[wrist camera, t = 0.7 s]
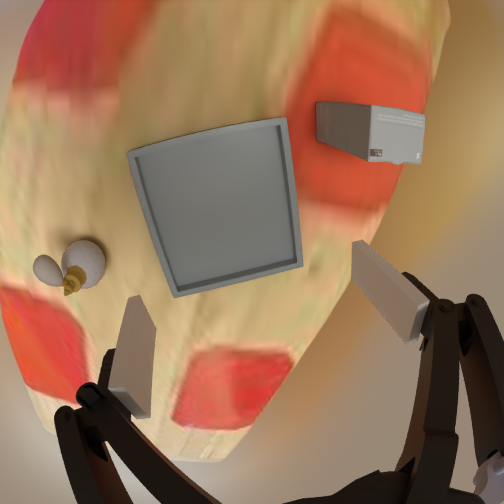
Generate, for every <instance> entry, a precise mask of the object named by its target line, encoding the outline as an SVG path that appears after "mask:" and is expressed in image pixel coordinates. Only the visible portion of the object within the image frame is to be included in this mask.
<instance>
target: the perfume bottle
mask: <svg viewBox="0 0 504 504" xmlns="http://www.w3.org/2000/svg"><path fill="white" fill-rule="evenodd" d="M33 271H34V273H35V275H36V277H37V278H38V279H39V280H40V281H42V282H43V283H45V284H47V285H50V286H56V287H57V286H64V293H65V294H64V295H65V296H67V295H69V294H71V293H73V292H77V291H79V290H80V288H81V289H87V288H91V287H93V286H95V285H96V284H97V283H98V282H99V281H100V280H101V279H102V277H103V275H104V272H105V257H104V254H103V252H102V250H101V249H100V248H99V247H98V246H97V245H96V244H94V243H93V242H90V241H87V240H80V241H76V242H74V243H72V244H71V245H70V246H69V247H68V248H67V249H66V250H65V252H64V254H63V257H62V271H63V274H64V276H65V277H64V278H63V274H62V271H61V269H60V267H59V266H58V264H57V263H56V262H55V261H54V260H53V259H52V258H51V257H50V256H48V255H40V256H38V257H37V258H36V259H35V261H34V264H33Z"/></svg>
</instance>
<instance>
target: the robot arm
mask: <svg viewBox="0 0 504 504" xmlns="http://www.w3.org/2000/svg"><path fill="white" fill-rule="evenodd" d="M351 279H352V280H353V281H354V283H355V284H356V285H357V286H358V287H359V288H360V289H361V291H362V292H363V293H364V294H365V295H366V296H367V298H368V299H369V300H370V301H371V302H372V304H373V305H374V306H375V307H376V308H377V310H378V311H379V312H380V313H381V315H382V316H383V317H384V318H385V319H386V321H387V322H388V323H389V324H390V326H392V328H393V329H394V330H395V332H396V333H397V334H398V335H399V337H400V338H401V339H402V340H403V342H404V343H405V344H406V345H409V344H411V343H413V342H415V341H417V340H418V337H419V334H420V332H421V334H422V335H423V336H424V338H423V341H422V344H421V346H420V349H419V350H421V349H422V353H421V363H420V370H419V377H418V385H417V390H416V396H415V402H414V407H413V413H412V417H411V422H410V426H409V430H408V434H407V438H406V442H405V446H404V450H403V453H402V455H401V457H400V459H399V461H398V463H397V466H396V468H395V471H388V472H381V473H380V471H379V470H377V471H374V472H372V473H370V474H368V475H366V476H363V477H361V478H359V479H356V480H355V481H353V482H352V483H350V484H349V485H347V486H346V487H344V488H343V489H341V490H340V491H338V492H337V493H335V494H333V495H330V496H323V497H314V498H302V499H299V500H295V501H291V502H287V503H283V504H500V503H501V502H503V501H504V341H503V338H502V336H501V333H500V332H499V329H498V327H497V324H496V322H495V320H494V318H493V315H492V313H491V311H490V309H489V307H488V305H487V303H486V301H485V300H484V298H483V297H481V296H480V295H477V294H469V295H468V296H467V298H466V301H465V302H464V303H458V304H454V303H453V302H452V301H450V300H448V299H439V298H437V297H436V296H435V295H434V294H433V293H432V292H431V291H430V290H429V289H428V288H427V287H426V286H424V285H423V284H422V283H421V282H419V280H418V279H417V278H416V277H415V276H413V275H411V274H409V273H407V272H403V273H400V272H399V271H398V270H397V269H395V268H394V267H393V266H392V265H391V264H390V263H389V262H387V261H386V260H385V259H384V258H383V257H382V256H381V255H380V254H379V253H377V252H376V251H375V250H374V249H373V248H372V247H370V246H369V245H368V244H367V243H366V242H364V241H363V240H359V241H355V242H352V267H351ZM155 337H156V327H155V325H154V323H153V321H152V319H151V317H150V315H149V313H148V311H147V309H146V307H145V305H144V303H143V301H142V298H141V296H140V295H138V296H133V297H129V298H128V301H127V305H126V309H125V312H124V316H123V320H122V324H121V328H120V332H119V336H118V341H117V345H116V348H114V349H108V351H107V352H106V354H105V356H104V357H103V362H102V366H101V370H100V371H101V372H100V375H99V379H98V384H97V385H96V384H95V383H93V382H88V383H85V384H83V385H82V386H81V387H80V388H79V389H78V391H77V393H76V400H77V402H78V403H79V404H80V405H81V406H82V408H79V409H76V410H73V409H72V408H71V407H70V406H66V405H65V406H62V407H60V408H59V409H58V410H57V411H56V413H55V415H54V423H55V428H56V433H57V437H58V441H59V446H60V449H61V454H62V458H63V461H64V465H65V468H66V472H67V475H68V478H69V481H70V484H71V487H72V490H73V493H74V495H75V498H76V501H77V503H78V504H133V502H132V500H131V498H130V496H129V494H128V492H127V491H126V489H125V487H124V485H123V483H122V481H121V479H120V476H119V474H118V472H117V470H116V468H115V466H114V463H113V461H112V459H111V456H110V454H109V452H108V449H107V446H106V444H105V441H108V443H109V444H110V446H111V447H112V448H113V450H114V451H115V452H116V453H117V455H118V456H119V457H120V458H121V460H122V461H123V462H124V463H125V464H126V466H127V467H128V468H129V469H130V471H131V472H132V473H133V474H134V475H135V476H136V477H137V478H138V480H139V481H140V482H141V483H142V484H143V485H144V486H145V487H146V488H147V490H149V492H150V493H151V494H152V495H153V496H154V497H155V498H156V499H157V500H158V501H159V502H160V503H161V504H222V503H220V502H219V501H218V500H216V499H215V498H214V497H212V496H211V495H210V494H208V493H207V492H206V491H205V490H203V489H202V488H201V487H200V486H198V485H197V484H196V483H195V482H194V481H192V480H191V479H190V478H189V477H188V476H186V475H185V474H184V473H183V472H182V471H181V470H180V469H178V468H177V467H176V466H175V465H174V464H173V463H172V462H171V461H170V460H169V459H168V458H167V457H166V456H165V455H163V454H162V453H161V452H160V451H159V450H158V449H157V448H156V447H155V446H154V445H153V444H152V443H151V441H150V440H149V439H148V438H147V437H146V436H145V435H144V434H143V433H142V432H141V431H140V430H139V429H138V428H137V426H136V425H135V424H134V423H133V422H132V421H131V414H132V415H133V416H134V417H135V418H136V419H145V418H150V417H151V390H152V373H153V360H154V348H155ZM459 360H460V364H461V368H462V372H463V377H464V381H465V386H466V391H467V396H468V401H469V407H470V413H471V420H472V427H473V436H474V446H475V454H476V459H477V464H478V467H479V468H478V470H477V472H476V475H475V477H474V479H473V483H474V485H476V487H475V491H474V493H469V492H465V491H461V490H457V489H454V488H450V487H449V486H450V482H451V478H452V474H453V469H454V464H455V460H456V453H457V448H458V441H459V437H458V435H457V434H456V433H455V424H456V415H457V405H458V391H459Z"/></svg>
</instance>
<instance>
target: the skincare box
mask: <svg viewBox="0 0 504 504" xmlns="http://www.w3.org/2000/svg"><path fill="white" fill-rule="evenodd" d="M424 128H425V115H424V114H420V113H416V112H412V111H407V110H403V109H398V108H392V107H386V106H379V105H364V104H353V103H341V102H316V141H320V142H322V143H325V144H328V145H330V146H333V147H335V148H338V149H340V150H343V151H346V152H348V153H350V154H352V155H355V156H357V157H359V158H362V159H364V160H366V161H369V162H392V163H393V164H397V165H399V164H402V163H408V164H421V162H422V151H423V140H424Z"/></svg>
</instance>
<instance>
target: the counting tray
mask: <svg viewBox="0 0 504 504" xmlns="http://www.w3.org/2000/svg"><path fill="white" fill-rule="evenodd" d="M126 155H127V158H128V162H129V166H130V170H131V173H132V177H133V180H134V184H135V187H136V191H137V194H138V198H139V201H140V204H141V207H142V211H143V214H144V217H145V220H146V223H147V226H148V229H149V232H150V235H151V238H152V241H153V244H154V247H155V250H156V252H157V255H158V258H159V261H160V263H161V266H162V269H163V272H164V274H165V277H166V279H167V282H168V285H169V287H170V290H171V292H172V295H173V297H174V298H177V297H182V296H186V295H190V294H195V293H199V292H203V291H207V290H212V289H216V288H220V287H224V286H228V285H232V284H236V283H240V282H245V281H249V280H253V279H257V278H261V277H264V276H268V275H272V274H276V273H280V272H284V271H288V270H292V269H295V268H299V267H303V255H302V243H301V232H300V222H299V212H298V203H297V194H296V186H295V177H294V169H293V162H292V154H291V147H290V140H289V133H288V126H287V119H286V117H278V118H271V119H264V120H257V121H251V122H245V123H239V124H234V125H229V126H224V127H219V128H214V129H209V130H205V131H200V132H196V133H192V134H188V135H184V136H180V137H176V138H172V139H168V140H165V141H161V142H157V143H154V144H150V145H147V146H144V147H141V148H137V149H134V150H131V151H129V152H127V153H126Z"/></svg>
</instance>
